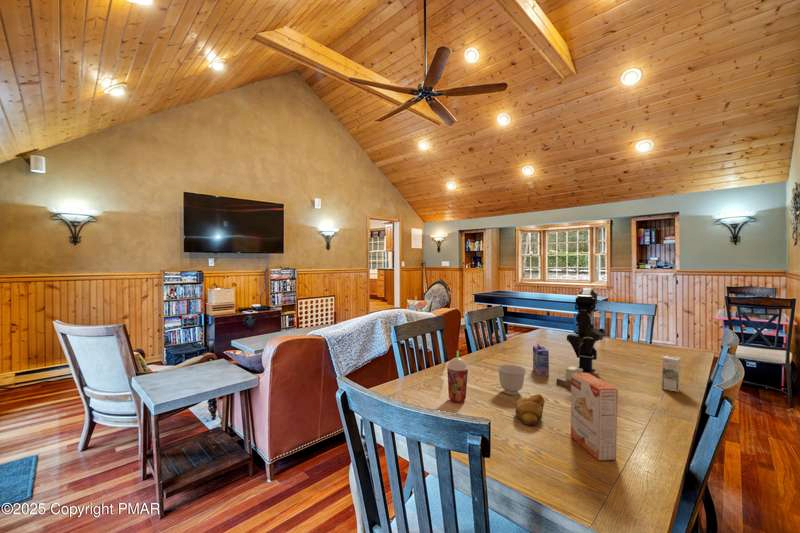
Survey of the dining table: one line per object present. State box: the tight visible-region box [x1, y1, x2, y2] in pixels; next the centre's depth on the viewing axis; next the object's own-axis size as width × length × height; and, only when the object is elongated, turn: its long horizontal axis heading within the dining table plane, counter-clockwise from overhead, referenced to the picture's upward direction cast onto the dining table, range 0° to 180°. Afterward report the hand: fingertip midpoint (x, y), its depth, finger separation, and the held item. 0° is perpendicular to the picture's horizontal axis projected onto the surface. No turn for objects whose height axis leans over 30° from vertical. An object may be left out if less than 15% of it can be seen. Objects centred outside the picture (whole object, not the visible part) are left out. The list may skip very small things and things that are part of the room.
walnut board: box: [556, 375, 571, 390], centre depth 161 cm, size 10×10×3 cm
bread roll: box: [514, 393, 546, 426], centre depth 127 cm, size 13×10×8 cm
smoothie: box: [446, 350, 469, 404], centre depth 142 cm, size 8×8×20 cm
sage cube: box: [565, 365, 584, 381], centre depth 161 cm, size 5×5×5 cm
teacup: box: [496, 364, 527, 396], centre depth 153 cm, size 12×15×10 cm
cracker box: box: [570, 372, 618, 462], centre depth 107 cm, size 14×6×21 cm, turn 5°
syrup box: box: [661, 354, 681, 393], centre depth 156 cm, size 6×6×14 cm
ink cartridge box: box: [532, 343, 550, 377], centre depth 178 cm, size 10×6×14 cm, turn 174°
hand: (583, 354), depth 168 cm, fingers open, 9 cm apart
